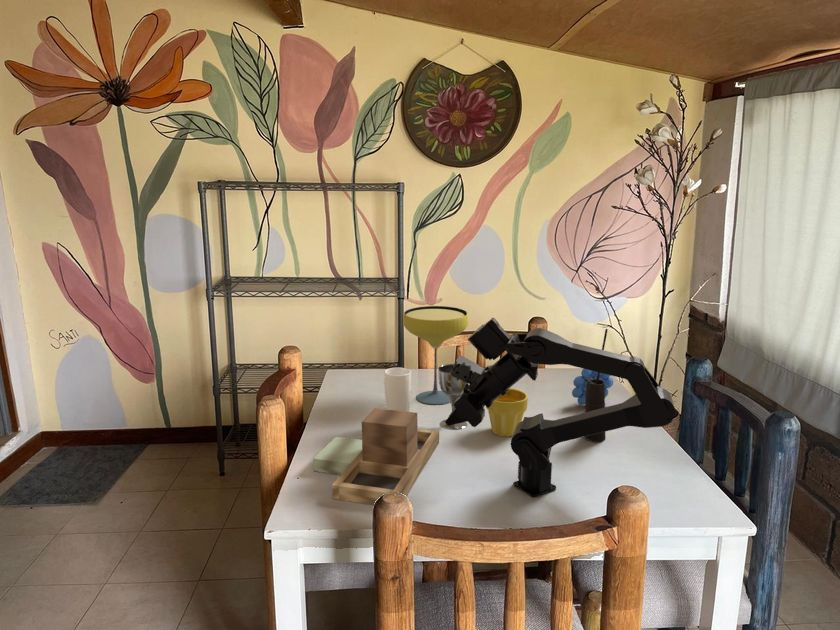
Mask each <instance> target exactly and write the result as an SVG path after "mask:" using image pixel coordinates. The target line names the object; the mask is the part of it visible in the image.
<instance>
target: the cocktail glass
mask: <svg viewBox="0 0 840 630" xmlns="http://www.w3.org/2000/svg"><path fill="white" fill-rule="evenodd" d="M402 315H403V317H402V323H403V326H404V328H405V329H406V330H407V331H408V332H409V333H410V334H412V335H413V336H415V337H418V338H420V339H422V340H424V341H426V342H427V343H428V344H429V345H430V346H431V348H432V349H434V366H433V368H434V375H433V380H434V381H433V389H432V390H427V391H423V392H420V393H419V394H417V395H416V400H417V401H418V402H420V403H421V404H426V405H429V406H430V405H431V406H432V405H433V406H439V405H446V404H451V402H450V400H449V399H448V398H447V396H446V395H445V394H444V393H443V392H442V390H439V388H438V377H437V376H438V372H437V370H438V369H437V368H438V364H437V363H438V359H437V353H438V352H437V349H439V348H440V347H441V346H442V344H443V343H444V342H446V341H447V340H449V339H451V338H454V337H456V336H458V335H460V334H462V333H463V332H464V331H465V330H466V329H467V327H468V325H469V314H468V312H467V311H466V310H464V309H462V308H459V307H453V306H442V305H440V306H439V305H425V306H417V307H412V308H409V309H407V310H405V311H404V313H403V314H402Z"/></svg>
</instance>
